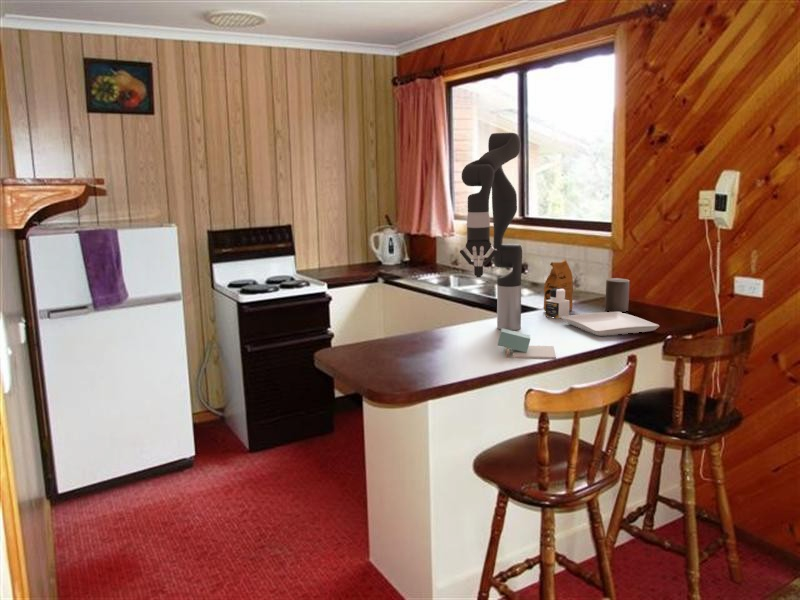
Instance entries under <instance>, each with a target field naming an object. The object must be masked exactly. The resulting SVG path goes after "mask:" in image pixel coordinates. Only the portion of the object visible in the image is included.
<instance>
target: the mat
mask: <svg viewBox="0 0 800 600" xmlns="http://www.w3.org/2000/svg"><path fill="white" fill-rule="evenodd" d="M512 358H513V359H545V358H552V359H551V360H553V359H555V360H556V359H557V355H556V351H555V347H554V345H529V346H528V350H527V353H525V352H522V351H518V350H514V349H512Z"/></svg>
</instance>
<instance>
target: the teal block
mask: <svg viewBox="0 0 800 600" xmlns="http://www.w3.org/2000/svg"><path fill="white" fill-rule="evenodd" d="M530 342H531V335H530V334H526V333H523V332H519V331H516V330H507V329H503V328H501V329H500V333H499V336H498V341H497V346H499V347H502V348H506V349H507V348H510V350H513V349H514V350H518V351H522V352H525V353H527V350H528V346H530Z"/></svg>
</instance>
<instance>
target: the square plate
mask: <svg viewBox="0 0 800 600" xmlns="http://www.w3.org/2000/svg"><path fill="white" fill-rule="evenodd" d="M561 319H562V320H563V321H564V322H565V323H567V324H568V325H572V326H573V327H575V326H576V327H575V328H577V327H578V328H577V329H579V328H581V329H580V330H582V329H583V330H582V331H584V330H586V331H585V332H587V331H588V333H589V332H590V333H589V334H592V333H593V334H592V335H594V334H595V335H594V336H598V337H599V336H601V337H608V336H607V335H612V336H619V335H618V334H622V335H629V334H628V333H633V334H640V333H639V332H642V333H645V332H646V333H648V332H652V331H655V330H656V329H658V328H659V327H660V325H659V324H658V323H654V322H651V321H649V320H646V319H644V318H641V317H638V316H636V315H635V316H634V315H632V314H629V313H622V312H607V311H605V312H604V311H603V312H589V313H581V314H573V315H572V314H571V315H570V314H569V316H561Z"/></svg>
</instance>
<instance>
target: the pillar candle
mask: <svg viewBox="0 0 800 600" xmlns="http://www.w3.org/2000/svg"><path fill="white" fill-rule="evenodd" d="M630 281H631V280H629V279H628V278H627V279H626V278H620V277H618V276H617V277H615V278H614V277H613V278H607V279H606V281H605V299H604V300H605V301H604V302H605V303H604V304H605V306H604V311H605V310H606V311H605V312H607V311H611V312H626V311H628V312H629V304H630V303H629V301H630V299H629V298H630ZM626 313H627V312H626Z"/></svg>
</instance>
